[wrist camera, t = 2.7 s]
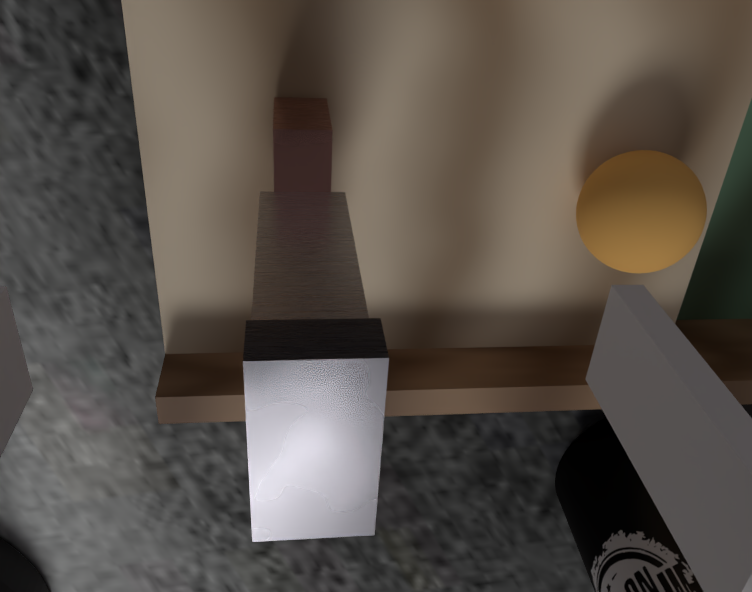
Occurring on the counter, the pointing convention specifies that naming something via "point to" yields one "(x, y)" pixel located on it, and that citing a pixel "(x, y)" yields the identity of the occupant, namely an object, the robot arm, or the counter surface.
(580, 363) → the lane
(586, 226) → the ball
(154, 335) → the counter surface
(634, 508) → the water bottle
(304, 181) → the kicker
